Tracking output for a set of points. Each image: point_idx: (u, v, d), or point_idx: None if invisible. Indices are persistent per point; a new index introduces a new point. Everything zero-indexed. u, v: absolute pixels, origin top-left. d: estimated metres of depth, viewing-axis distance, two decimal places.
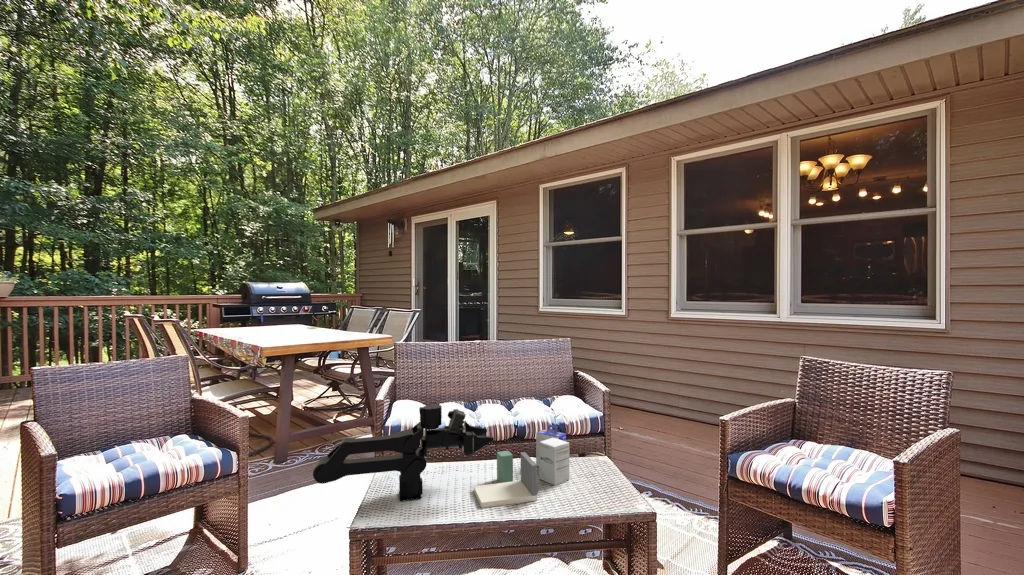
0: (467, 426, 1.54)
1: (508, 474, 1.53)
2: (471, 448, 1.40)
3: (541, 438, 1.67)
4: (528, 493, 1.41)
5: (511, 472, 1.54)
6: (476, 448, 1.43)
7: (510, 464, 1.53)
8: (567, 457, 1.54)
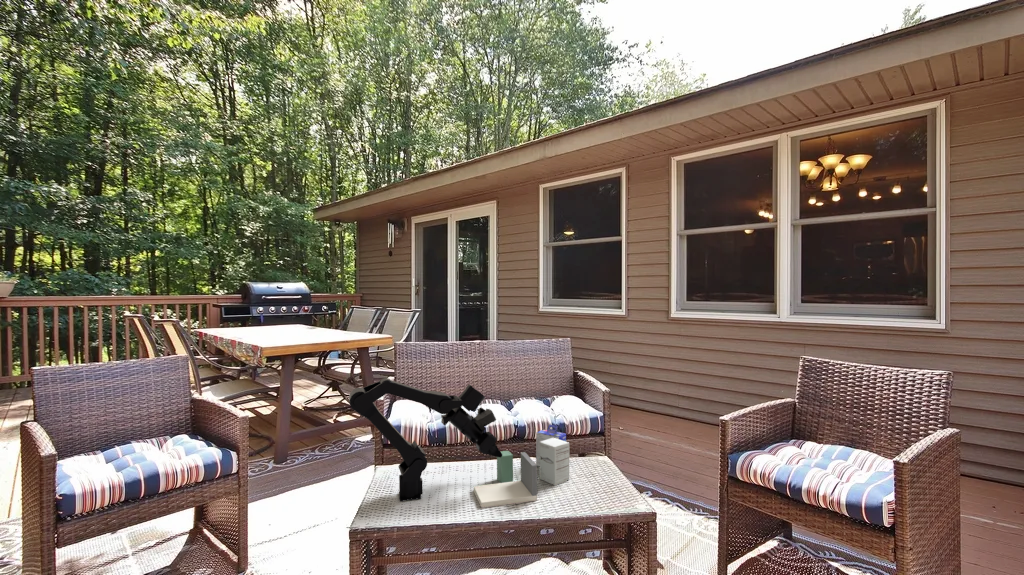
0: None
1: (508, 474, 1.53)
2: (487, 447, 1.43)
3: (541, 438, 1.67)
4: (528, 493, 1.41)
5: (511, 472, 1.54)
6: (487, 452, 1.46)
7: (510, 464, 1.53)
8: (567, 457, 1.54)
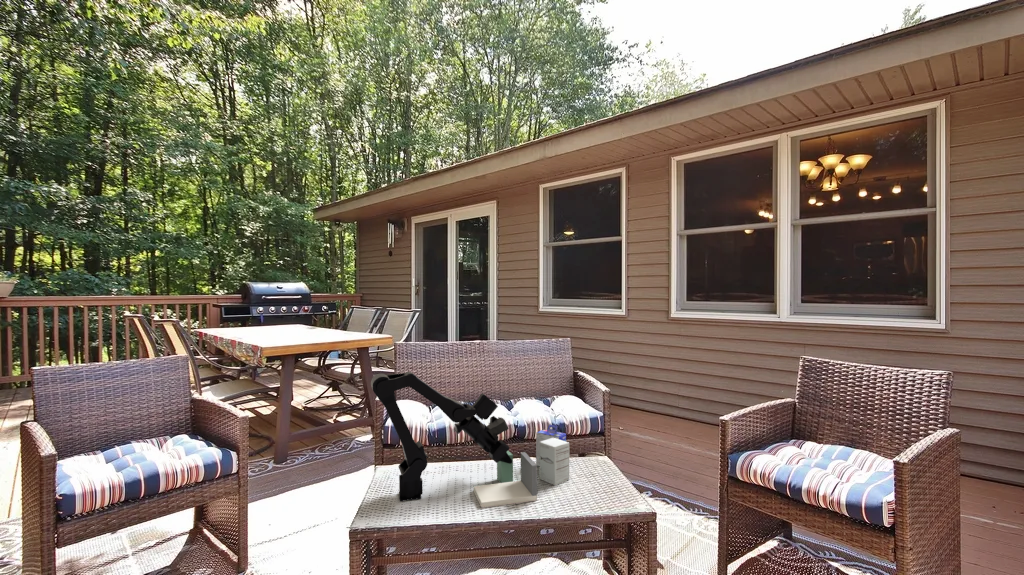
0: (496, 441, 1.57)
1: (508, 473, 1.53)
2: (500, 456, 1.45)
3: (541, 438, 1.67)
4: (528, 493, 1.41)
5: (511, 472, 1.54)
6: None
7: (510, 464, 1.53)
8: (567, 457, 1.54)
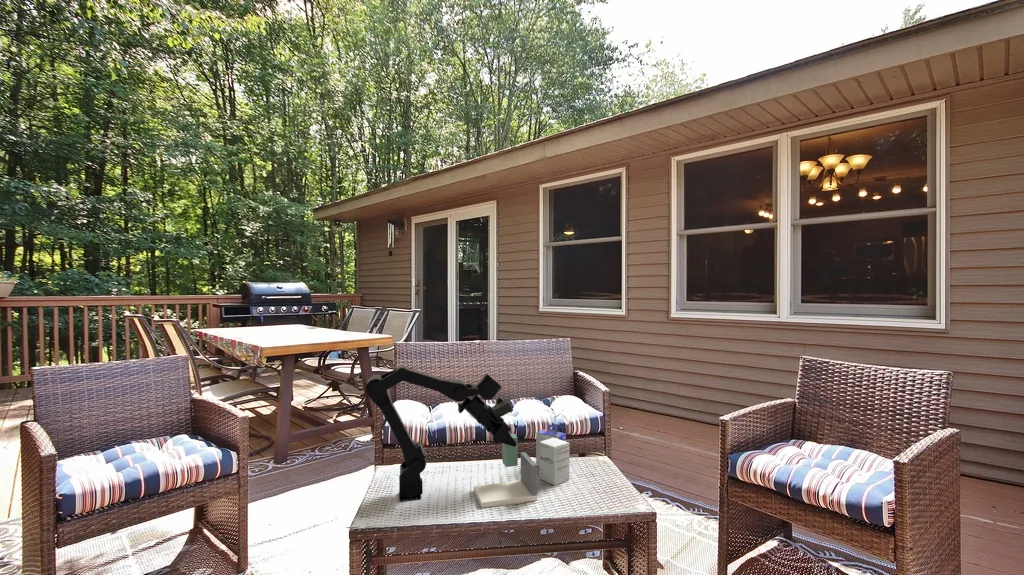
0: None
1: (513, 457, 1.49)
2: (501, 437, 1.41)
3: (541, 438, 1.67)
4: (528, 493, 1.41)
5: (516, 455, 1.49)
6: None
7: (515, 447, 1.49)
8: (567, 457, 1.54)
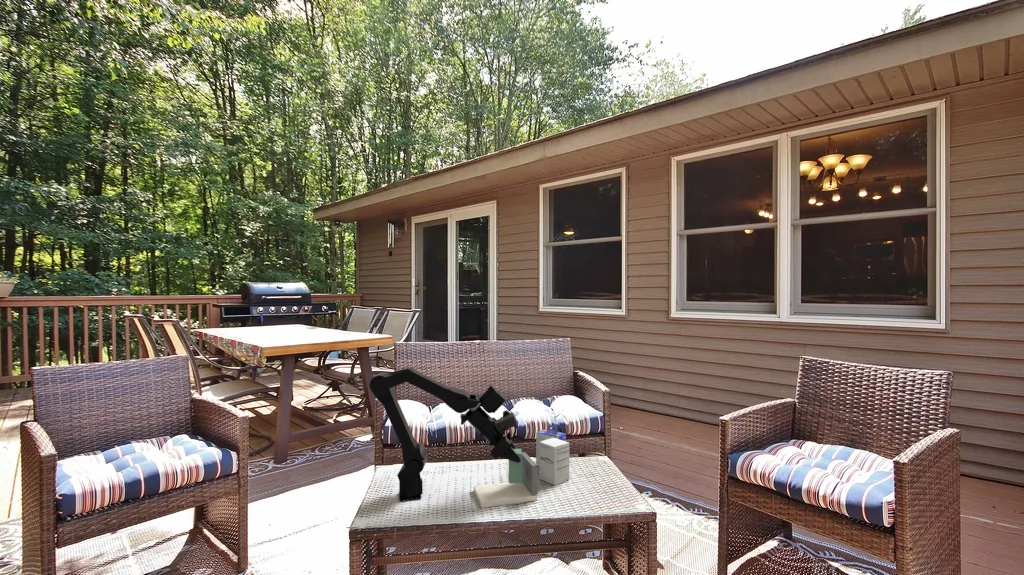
0: (508, 437, 1.48)
1: (517, 473, 1.42)
2: (499, 453, 1.35)
3: (541, 438, 1.67)
4: (528, 493, 1.41)
5: (520, 472, 1.42)
6: (502, 455, 1.40)
7: (519, 463, 1.43)
8: (567, 457, 1.54)
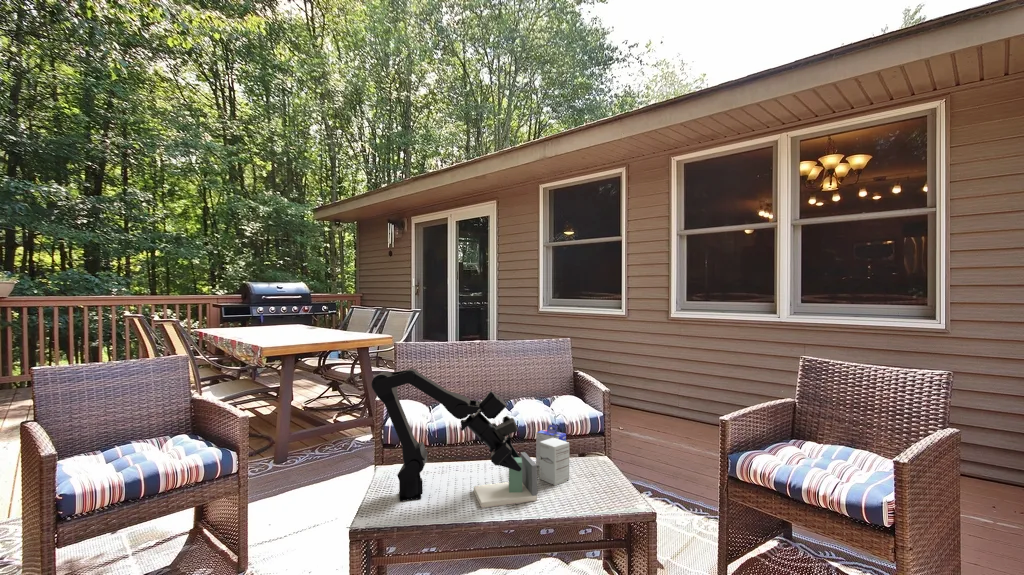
0: (508, 441, 1.50)
1: (517, 482, 1.42)
2: (499, 459, 1.35)
3: (541, 438, 1.67)
4: (528, 493, 1.41)
5: (520, 481, 1.42)
6: (502, 463, 1.38)
7: (519, 472, 1.42)
8: (567, 457, 1.54)
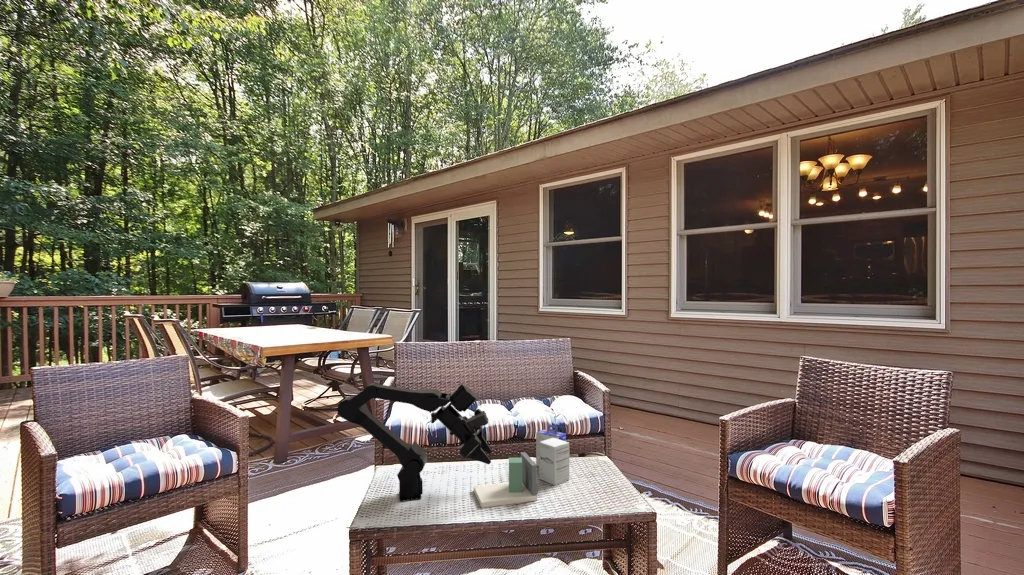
0: (480, 434, 1.50)
1: (517, 482, 1.42)
2: (468, 452, 1.35)
3: (541, 438, 1.67)
4: (528, 493, 1.41)
5: (520, 481, 1.42)
6: (471, 456, 1.38)
7: (519, 472, 1.42)
8: (567, 457, 1.54)
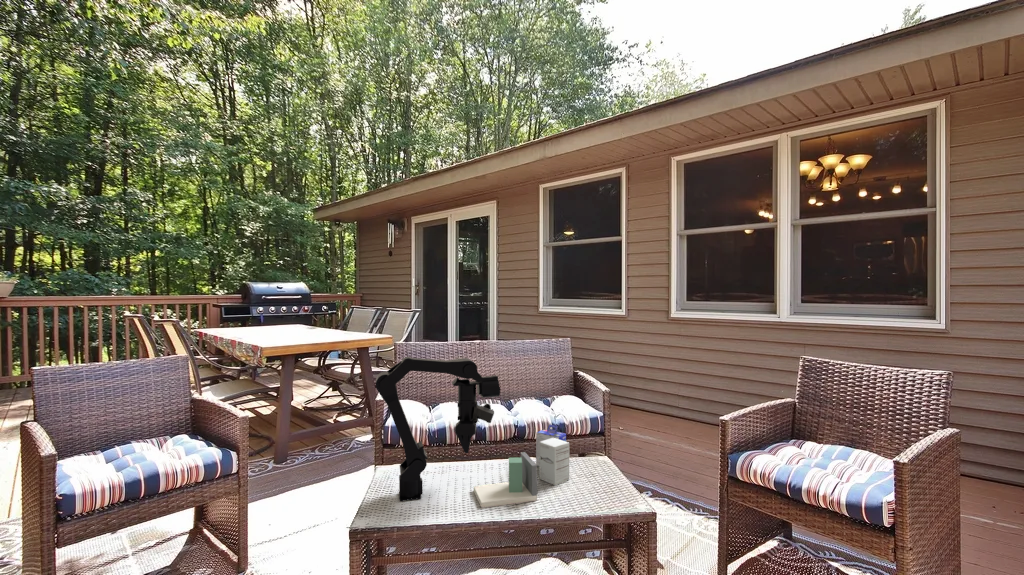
0: None
1: (517, 482, 1.42)
2: (462, 432, 1.40)
3: (541, 438, 1.67)
4: (528, 493, 1.41)
5: (520, 481, 1.42)
6: (459, 436, 1.42)
7: (519, 472, 1.42)
8: (567, 457, 1.54)
